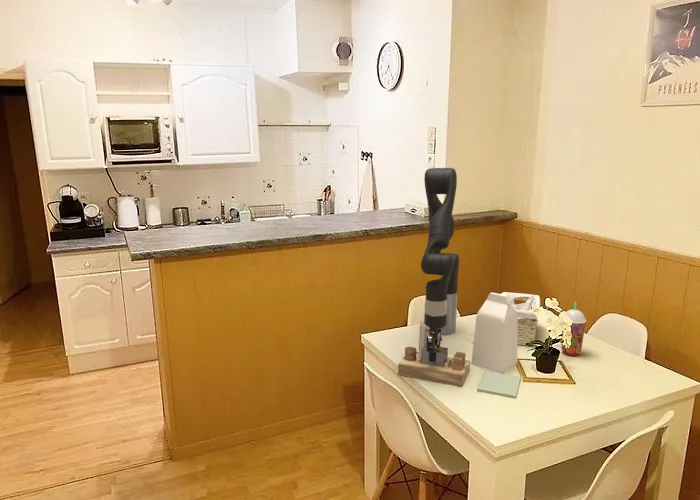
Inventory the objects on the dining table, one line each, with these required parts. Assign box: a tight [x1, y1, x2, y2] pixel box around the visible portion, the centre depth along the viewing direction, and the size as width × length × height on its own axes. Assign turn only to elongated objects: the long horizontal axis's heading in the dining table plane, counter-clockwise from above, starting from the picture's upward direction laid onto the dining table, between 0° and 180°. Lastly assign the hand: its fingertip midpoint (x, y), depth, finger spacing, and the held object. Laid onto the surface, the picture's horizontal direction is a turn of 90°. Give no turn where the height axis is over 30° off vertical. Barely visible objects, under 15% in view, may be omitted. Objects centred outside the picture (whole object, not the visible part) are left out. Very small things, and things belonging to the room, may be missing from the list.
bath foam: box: [418, 315, 430, 353], centre depth 192 cm, size 7×7×20 cm
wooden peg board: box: [397, 346, 471, 387], centre depth 178 cm, size 12×22×8 cm, turn 66°
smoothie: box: [561, 301, 587, 357], centre depth 192 cm, size 8×8×20 cm
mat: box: [476, 370, 522, 399], centre depth 171 cm, size 14×12×1 cm
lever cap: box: [421, 344, 449, 367], centre depth 178 cm, size 5×8×6 cm, turn 66°
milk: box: [470, 292, 518, 374], centre depth 184 cm, size 12×12×26 cm
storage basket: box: [500, 291, 541, 346], centre depth 211 cm, size 24×16×15 cm
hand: (434, 358), depth 178 cm, fingers closed on lever cap, 5 cm apart
